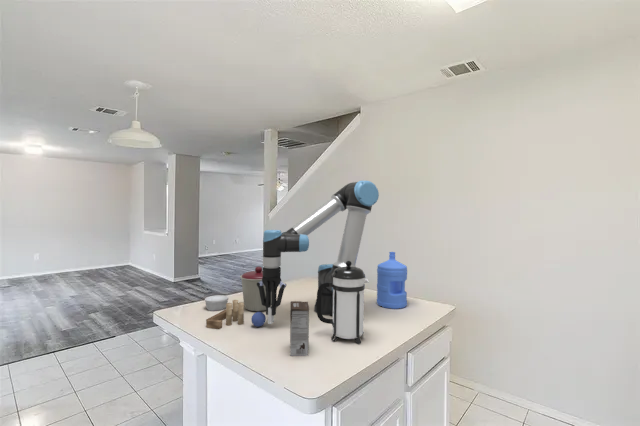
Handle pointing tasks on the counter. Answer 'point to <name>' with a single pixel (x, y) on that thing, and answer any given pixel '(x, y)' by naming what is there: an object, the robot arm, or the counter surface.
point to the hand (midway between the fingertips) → (270, 322)
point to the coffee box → (299, 328)
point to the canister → (253, 290)
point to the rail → (216, 320)
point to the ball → (258, 319)
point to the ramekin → (216, 302)
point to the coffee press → (346, 302)
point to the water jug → (391, 283)
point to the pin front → (240, 313)
